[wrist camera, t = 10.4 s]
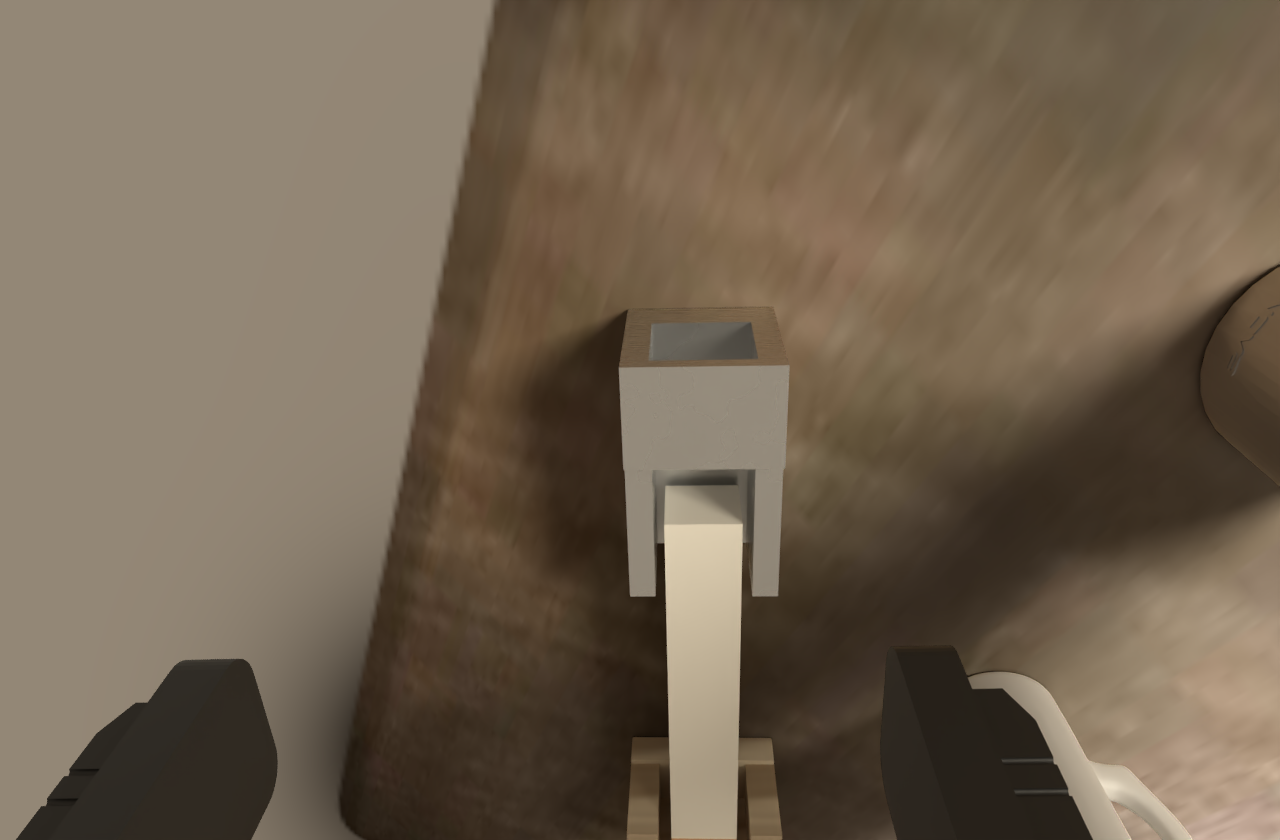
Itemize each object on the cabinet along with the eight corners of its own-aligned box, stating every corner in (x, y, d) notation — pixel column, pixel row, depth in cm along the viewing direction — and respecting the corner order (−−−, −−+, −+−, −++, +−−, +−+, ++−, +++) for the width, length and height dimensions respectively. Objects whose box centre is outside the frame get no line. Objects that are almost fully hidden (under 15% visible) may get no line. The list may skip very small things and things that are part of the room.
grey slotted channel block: (628, 309, 37) (618, 367, 32) (773, 307, 37) (789, 365, 32) (636, 522, 42) (629, 605, 36) (766, 521, 41) (779, 605, 36)
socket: (632, 737, 47) (626, 830, 42) (771, 738, 47) (782, 832, 42) (634, 788, 49) (629, 885, 44) (769, 790, 48) (779, 887, 43)
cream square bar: (665, 485, 38) (663, 524, 36) (738, 485, 38) (742, 524, 36) (672, 801, 46) (671, 853, 44) (733, 802, 46) (736, 854, 43)
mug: (907, 763, 47) (975, 997, 36) (936, 659, 44) (1018, 880, 34) (1105, 780, 47) (1231, 1020, 36) (1147, 677, 44) (1297, 905, 34)
